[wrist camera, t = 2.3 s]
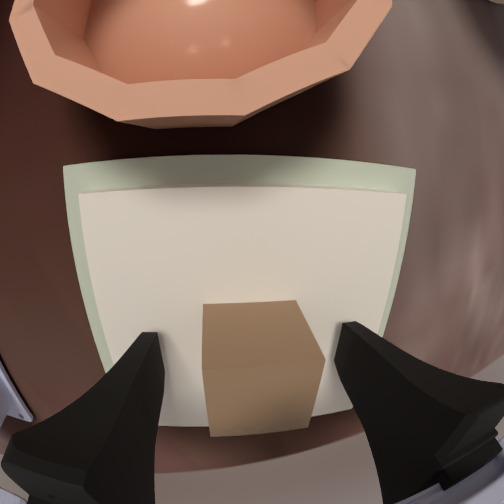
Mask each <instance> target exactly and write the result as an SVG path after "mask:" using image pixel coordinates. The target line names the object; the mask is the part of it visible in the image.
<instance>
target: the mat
mask: <svg viewBox="0 0 504 504" xmlns="http://www.w3.org/2000/svg"><path fill="white" fill-rule="evenodd" d="M63 173H64V187H65V198H66V207H67V216H68V223H69V230H70V237H71V243H72V249H73V254H74V260H75V265H76V270H77V275H78V279H79V284H80V288H81V292H82V297H83V301H84V304H85V308H86V312H87V316H88V319H89V323H90V326H91V330H92V333H93V336H94V340H95V343H96V346H97V349H98V352H99V355H100V358H101V361H102V364H103V366H104V369H105V372H106V373H107V372H108V371H109V370H110V369H111V368H112V367H113V366H114V364H113V361H112V358H111V355H110V352H109V349H108V345H107V342H106V339H105V335H104V332H103V328H102V324H101V320H100V317H99V313H98V309H97V305H96V300H95V296H94V292H93V287H92V282H91V278H90V273H89V267H88V262H87V256H86V251H85V244H84V238H83V231H82V223H81V215H80V206H79V196H78V194H80V193H82V192H84V191H86V190H95V189H107V188H120V187H135V186H153V185H176V184H216V183H263V184H303V185H326V186H344V187H359V188H372V189H384V190H395V191H398V192H401V193H404V194H407V195H406V202H405V210H404V217H403V223H402V229H401V235H400V241H399V247H398V252H397V257H396V262H395V267H394V271H393V276H392V280H391V285H390V289H389V293H388V297H387V301H386V305H385V309H384V313H383V316H382V320H381V324H380V327H379V331H378V335H379V336H381V337H383V334H384V330H385V327H386V324H387V320H388V317H389V313H390V309H391V306H392V302H393V298H394V294H395V290H396V286H397V282H398V278H399V273H400V269H401V264H402V259H403V254H404V249H405V244H406V239H407V233H408V227H409V221H410V214H411V208H412V200H413V192H414V184H415V174H416V169H412V168H406V167H399V166H392V165H385V164H377V163H368V162H360V161H350V160H340V159H328V158H315V157H299V156H279V155H241V154H214V155H176V156H156V157H141V158H128V159H117V160H107V161H98V162H89V163H81V164H73V165H67V166H63ZM352 407H353V406H352Z"/></svg>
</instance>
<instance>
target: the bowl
mask: <svg viewBox="0 0 504 504" xmlns="http://www.w3.org/2000/svg"><path fill="white" fill-rule="evenodd" d="M392 6H393V5H392V0H15V1H14V5H13V8H12V12H11V15H10V19H9V21H10V24H11V27H12V30H13V33H14V36H15V39H16V42H17V44H18V47H19V50H20V52H21V55H22V57H23V60H24V62H25V65H26V67H27V70H28V72H29V74H30V77H31V79H32V81H33V83H34V84H36V85H39V86H41V87H44V88H46V89H48V90H50V91H53V92H55V93H57V94H60V95H62V96H64V97H66V98H69V99H71V100H73V101H75V102H77V103H80V104H82V105H84V106H86V107H88V108H90V109H92V110H95V111H97V112H99V113H101V114H103V115H105V116H107V117H109V118H111V119H113V120H115V121H118V122H123V123H128V124H133V125H138V126H143V127H148V128H152V129H167V128H190V127H232V126H234V125H236V124H238V123H240V122H242V121H244V120H246V119H248V118H250V117H252V116H254V115H256V114H258V113H260V112H262V111H264V110H266V109H268V108H270V107H272V106H274V105H276V104H278V103H280V102H283V101H285V100H287V99H289V98H291V97H293V96H296V95H298V94H300V93H302V92H304V91H306V90H308V89H310V88H312V87H314V86H316V85H318V84H320V83H322V82H324V81H326V80H328V79H331V78H333V77H335V76H337V75H339V74H342V73H344V72H346V71H348V70H350V69H351V67H352V66H353V64H354V63H355V61H356V60H357V58H358V57H359V55H360V54H361V52H362V51H363V49H364V47H365V46H366V44H367V43H368V41H369V40H370V38H371V37H372V35H373V34H374V32H375V31H376V29H377V28H378V26H379V25H380V23H381V22H382V20H383V19H384V17H385V16H386V14H387V13H388V11H389V10H390V9H391V7H392Z"/></svg>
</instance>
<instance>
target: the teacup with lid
mask: <svg viewBox="0 0 504 504" xmlns="http://www.w3.org/2000/svg"><path fill="white" fill-rule="evenodd" d="M489 1H491V2H494V3H497V4H504V0H489Z"/></svg>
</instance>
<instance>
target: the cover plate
mask: <svg viewBox="0 0 504 504" xmlns="http://www.w3.org/2000/svg"><path fill="white" fill-rule="evenodd" d="M406 195H407V194H404V193H401V192H398V191H395V190H384V189H372V188H359V187H344V186H326V185H303V184H263V183H216V184H176V185H153V186H135V187H120V188H107V189H95V190H86V191H84V192H82V193H80V194H78V196H79V206H80V215H81V223H82V231H83V238H84V244H85V251H86V256H87V262H88V267H89V273H90V278H91V282H92V287H93V292H94V296H95V300H96V305H97V309H98V313H99V317H100V320H101V324H102V328H103V332H104V335H105V339H106V342H107V345H108V349H109V352H110V355H111V358H112V361H113V364H115V363H116V362H117V361H118V360H119V359H120V358H121V356H122V355H123V354H124V353H125V352H126V351H127V349H128V348H129V347H130V346H131V344H132V343H133V342H134V341H135V339H136V338H137V337H138V336H139V335H140V334H141V333H142V332H158V338H159V343H160V348H161V353H162V358H163V363H164V368H165V383H164V395H163V401H162V407H161V412H160V418H159V424H158V426H209V430H210V437H222V436H240V435H253V434H264V433H273V432H281V431H289V430H296V429H302V428H308V426H309V423H310V419H311V417H312V416H318V415H324V414H329V413H334V412H339V411H344V410H349V409H352V406H353V405H352V403H351V401H350V399H349V397H348V395H347V393H346V391H345V389H344V387H343V385H342V383H341V381H340V378H339V375H338V372H337V369H336V366H335V363H334V358H335V353H336V349H337V345H338V341H339V336H340V332H341V327H342V323H344V322H352V321H357V322H358V323H360V324H362V325H364V326H365V327H367V328H368V329H370V330H371V331H373V332H374V333H376V334H378V331H379V327H380V324H381V320H382V316H383V313H384V309H385V305H386V301H387V297H388V293H389V289H390V285H391V280H392V276H393V271H394V267H395V262H396V257H397V252H398V247H399V241H400V235H401V229H402V223H403V217H404V210H405V202H406Z"/></svg>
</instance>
